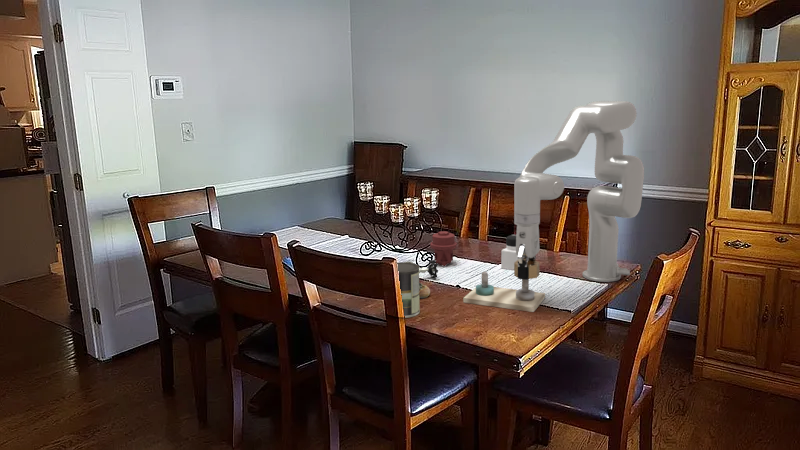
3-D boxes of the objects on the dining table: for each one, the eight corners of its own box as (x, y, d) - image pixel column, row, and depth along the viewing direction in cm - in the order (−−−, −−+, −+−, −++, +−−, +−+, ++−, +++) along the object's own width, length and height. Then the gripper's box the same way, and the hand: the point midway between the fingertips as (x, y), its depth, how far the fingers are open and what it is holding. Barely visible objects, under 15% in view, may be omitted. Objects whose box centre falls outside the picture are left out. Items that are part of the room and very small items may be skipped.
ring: (541, 273, 190) (541, 260, 189) (535, 279, 184) (535, 266, 183) (518, 270, 193) (518, 258, 192) (512, 277, 187) (512, 264, 186)
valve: (405, 284, 212) (438, 280, 215) (404, 265, 210) (437, 262, 214) (399, 279, 218) (431, 275, 221) (399, 260, 217) (431, 257, 220)
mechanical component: (456, 260, 240) (457, 267, 230) (430, 260, 240) (430, 267, 230) (455, 229, 237) (457, 235, 227) (429, 229, 237) (430, 235, 228)
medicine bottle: (518, 271, 223) (519, 239, 220) (500, 268, 227) (501, 236, 225) (527, 266, 229) (528, 235, 226) (509, 264, 233) (510, 233, 230)
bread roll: (391, 297, 198) (392, 282, 198) (405, 291, 208) (406, 277, 208) (423, 303, 194) (424, 287, 193) (435, 296, 204) (436, 282, 203)
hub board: (545, 297, 194) (545, 271, 193) (533, 312, 182) (534, 284, 180) (478, 289, 204) (478, 264, 202) (463, 302, 192) (463, 276, 190)
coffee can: (396, 320, 178) (395, 273, 175) (379, 310, 187) (378, 265, 184) (426, 313, 183) (426, 267, 180) (408, 304, 192) (407, 260, 189)
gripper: (531, 225, 176) (531, 285, 180) (546, 213, 191) (545, 268, 195) (506, 224, 179) (506, 282, 183) (522, 212, 194) (522, 266, 198)
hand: (526, 274), depth 189 cm, fingers closed on ring, 7 cm apart
